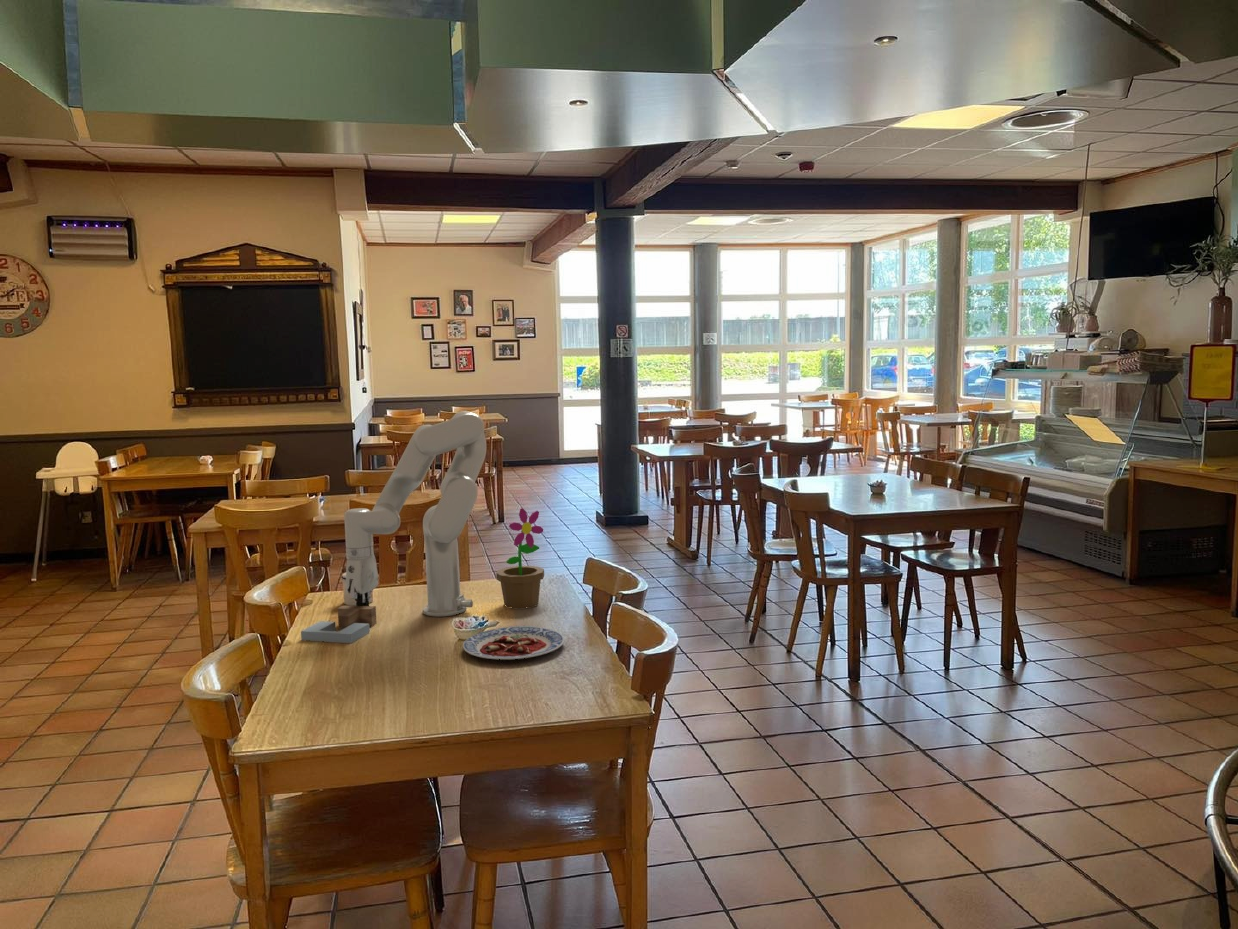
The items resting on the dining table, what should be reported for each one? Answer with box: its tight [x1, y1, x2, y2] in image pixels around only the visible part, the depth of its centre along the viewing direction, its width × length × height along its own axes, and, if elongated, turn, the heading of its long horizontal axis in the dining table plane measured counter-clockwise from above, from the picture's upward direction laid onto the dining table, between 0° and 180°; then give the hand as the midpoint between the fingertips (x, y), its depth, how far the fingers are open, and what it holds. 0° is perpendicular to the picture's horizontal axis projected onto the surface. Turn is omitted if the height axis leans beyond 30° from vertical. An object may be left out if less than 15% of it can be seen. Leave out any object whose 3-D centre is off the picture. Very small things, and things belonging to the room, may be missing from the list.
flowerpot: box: [495, 507, 545, 609], centre depth 271 cm, size 14×14×30 cm
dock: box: [300, 620, 371, 644], centre depth 245 cm, size 15×10×2 cm, turn 76°
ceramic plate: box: [462, 626, 565, 661], centre depth 231 cm, size 26×26×3 cm
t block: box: [337, 605, 378, 632], centre depth 252 cm, size 10×10×5 cm
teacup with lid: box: [341, 571, 374, 606], centre depth 280 cm, size 12×9×12 cm
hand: (363, 614), depth 259 cm, fingers closed
